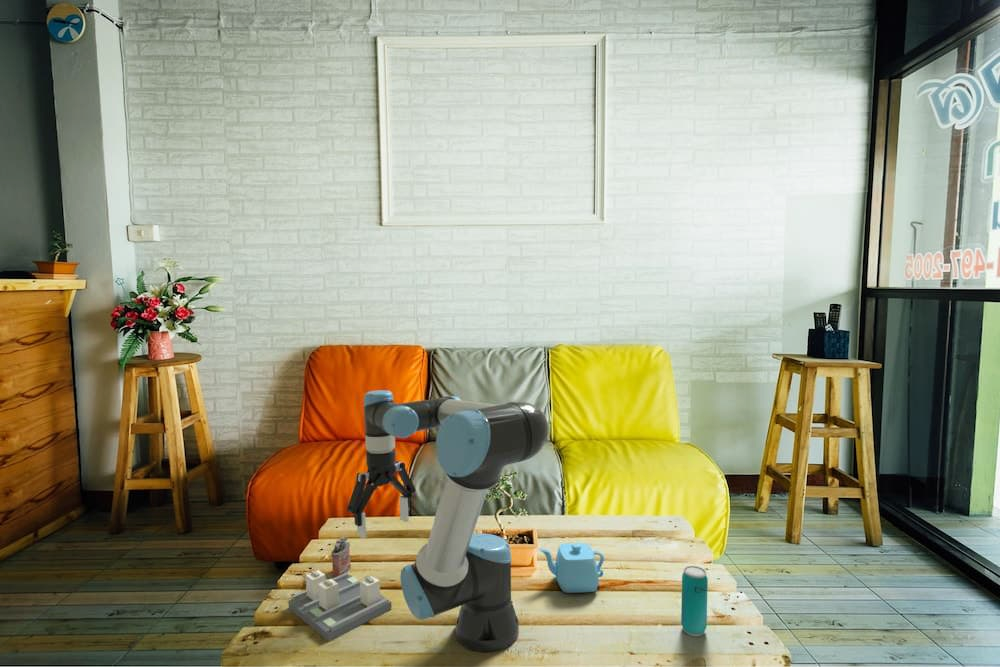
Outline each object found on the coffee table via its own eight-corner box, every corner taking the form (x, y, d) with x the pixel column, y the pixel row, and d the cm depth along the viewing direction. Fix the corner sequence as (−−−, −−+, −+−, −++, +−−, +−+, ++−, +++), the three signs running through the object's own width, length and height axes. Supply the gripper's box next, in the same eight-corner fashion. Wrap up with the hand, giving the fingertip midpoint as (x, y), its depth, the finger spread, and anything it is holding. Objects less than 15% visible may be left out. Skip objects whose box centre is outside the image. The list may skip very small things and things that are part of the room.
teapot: (536, 574, 163) (536, 536, 162) (598, 572, 164) (598, 534, 163) (542, 598, 151) (542, 557, 150) (609, 595, 152) (609, 554, 151)
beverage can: (711, 635, 134) (713, 575, 133) (690, 640, 133) (691, 579, 131) (696, 621, 140) (697, 563, 138) (676, 626, 138) (677, 567, 137)
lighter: (340, 580, 161) (339, 546, 160) (329, 579, 162) (328, 545, 161) (353, 566, 169) (352, 534, 168) (342, 565, 170) (341, 533, 169)
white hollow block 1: (326, 595, 149) (325, 572, 149) (313, 600, 147) (312, 577, 146) (319, 590, 152) (318, 567, 151) (306, 595, 149) (305, 572, 148)
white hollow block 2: (380, 601, 146) (379, 578, 145) (368, 607, 143) (367, 583, 143) (372, 596, 148) (371, 573, 148) (360, 601, 146) (359, 578, 145)
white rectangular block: (339, 604, 145) (338, 581, 144) (326, 610, 142) (325, 586, 142) (331, 599, 147) (330, 576, 147) (319, 605, 145) (318, 581, 144)
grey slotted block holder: (391, 609, 147) (391, 598, 146) (328, 641, 134) (327, 629, 133) (349, 581, 160) (349, 571, 160) (288, 608, 147) (288, 597, 147)
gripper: (409, 437, 161) (412, 510, 162) (330, 458, 142) (334, 540, 144) (426, 441, 156) (429, 517, 157) (347, 463, 137) (351, 548, 139)
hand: (383, 528), depth 150 cm, fingers open, 13 cm apart
